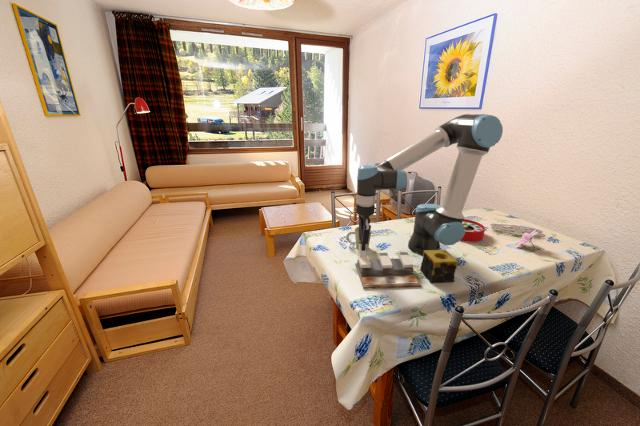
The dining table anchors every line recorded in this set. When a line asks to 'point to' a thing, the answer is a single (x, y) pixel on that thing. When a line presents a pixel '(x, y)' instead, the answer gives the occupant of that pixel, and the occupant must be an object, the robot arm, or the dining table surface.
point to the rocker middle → (385, 260)
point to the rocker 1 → (364, 262)
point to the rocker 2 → (405, 259)
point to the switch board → (387, 275)
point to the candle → (438, 266)
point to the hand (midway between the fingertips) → (362, 255)
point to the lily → (527, 238)
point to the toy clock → (472, 231)
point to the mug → (357, 238)
